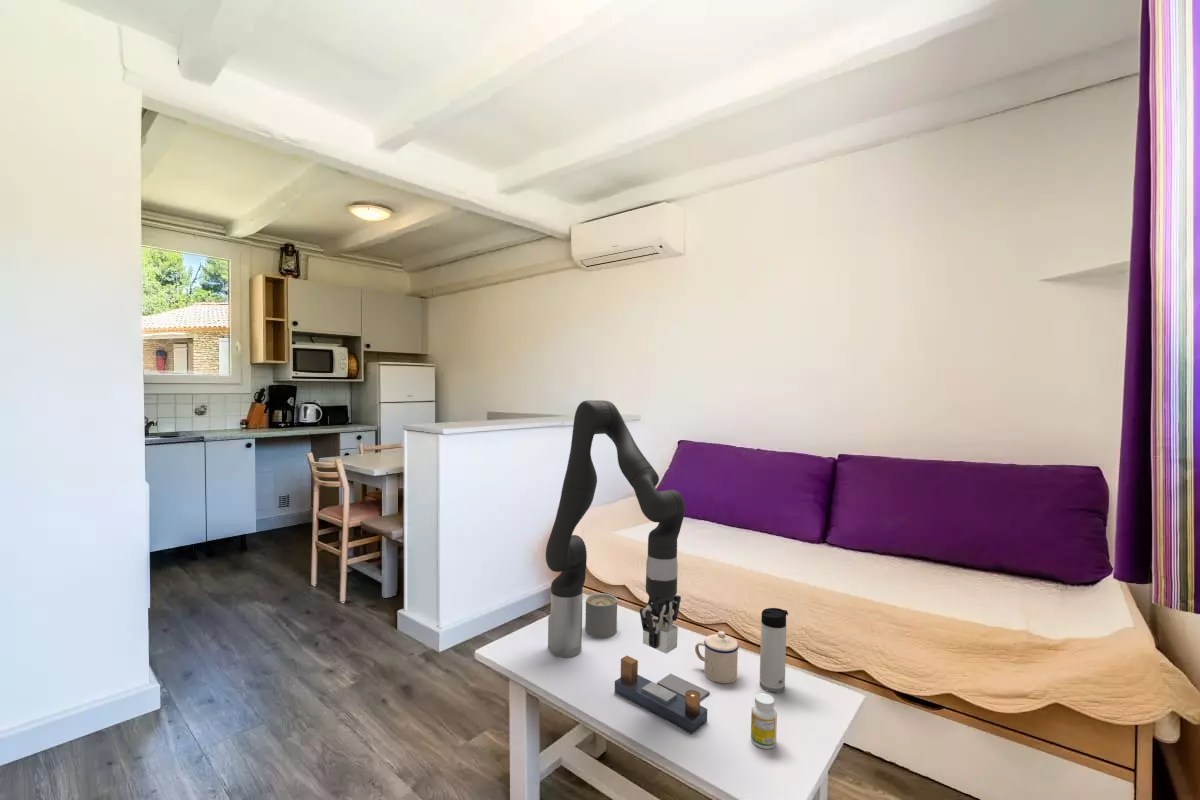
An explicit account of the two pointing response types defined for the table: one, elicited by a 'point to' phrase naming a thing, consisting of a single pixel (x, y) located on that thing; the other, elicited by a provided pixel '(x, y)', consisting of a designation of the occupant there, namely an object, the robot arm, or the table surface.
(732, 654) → the teacup with lid
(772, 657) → the travel mug
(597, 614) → the coffee mug
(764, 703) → the supplement bottle
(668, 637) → the lever cap
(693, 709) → the hand plane
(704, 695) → the rubber mat
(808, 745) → the table surface
